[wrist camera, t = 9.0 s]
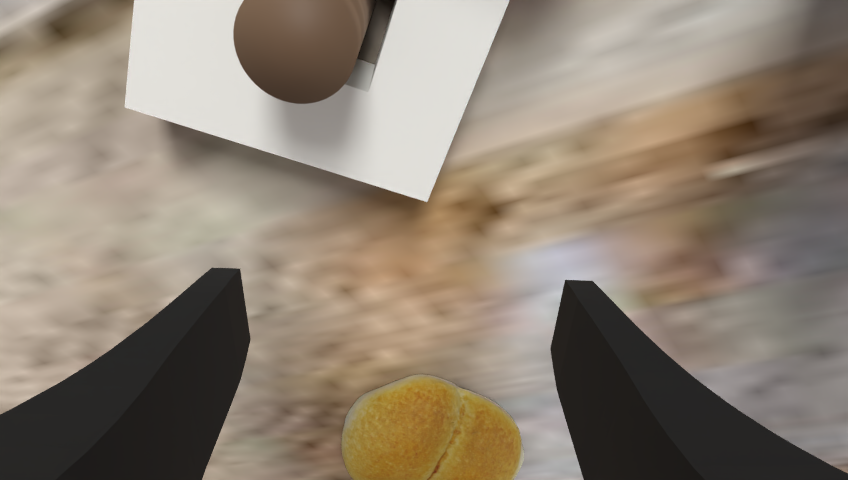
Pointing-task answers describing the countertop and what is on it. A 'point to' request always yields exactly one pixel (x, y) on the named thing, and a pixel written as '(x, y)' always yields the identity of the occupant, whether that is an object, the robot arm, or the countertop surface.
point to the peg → (300, 45)
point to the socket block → (330, 118)
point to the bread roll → (429, 434)
